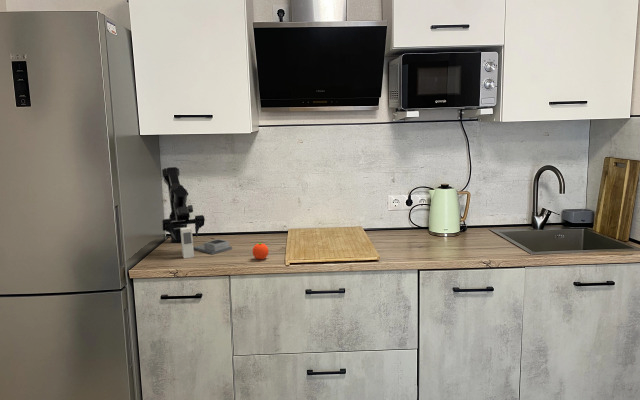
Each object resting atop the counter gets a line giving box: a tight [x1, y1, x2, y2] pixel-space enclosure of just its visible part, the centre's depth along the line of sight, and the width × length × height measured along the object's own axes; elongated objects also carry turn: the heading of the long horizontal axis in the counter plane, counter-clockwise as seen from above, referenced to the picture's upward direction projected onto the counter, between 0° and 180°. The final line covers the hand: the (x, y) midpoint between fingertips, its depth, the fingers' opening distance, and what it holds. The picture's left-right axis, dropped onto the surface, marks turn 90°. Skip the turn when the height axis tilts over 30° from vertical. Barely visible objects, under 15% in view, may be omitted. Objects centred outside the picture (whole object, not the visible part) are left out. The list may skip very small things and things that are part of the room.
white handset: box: [180, 226, 195, 259], centre depth 220 cm, size 5×4×13 cm
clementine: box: [252, 242, 269, 260], centre depth 212 cm, size 8×7×7 cm
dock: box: [193, 238, 233, 255], centre depth 232 cm, size 16×11×4 cm
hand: (186, 237), depth 221 cm, fingers open, 9 cm apart
